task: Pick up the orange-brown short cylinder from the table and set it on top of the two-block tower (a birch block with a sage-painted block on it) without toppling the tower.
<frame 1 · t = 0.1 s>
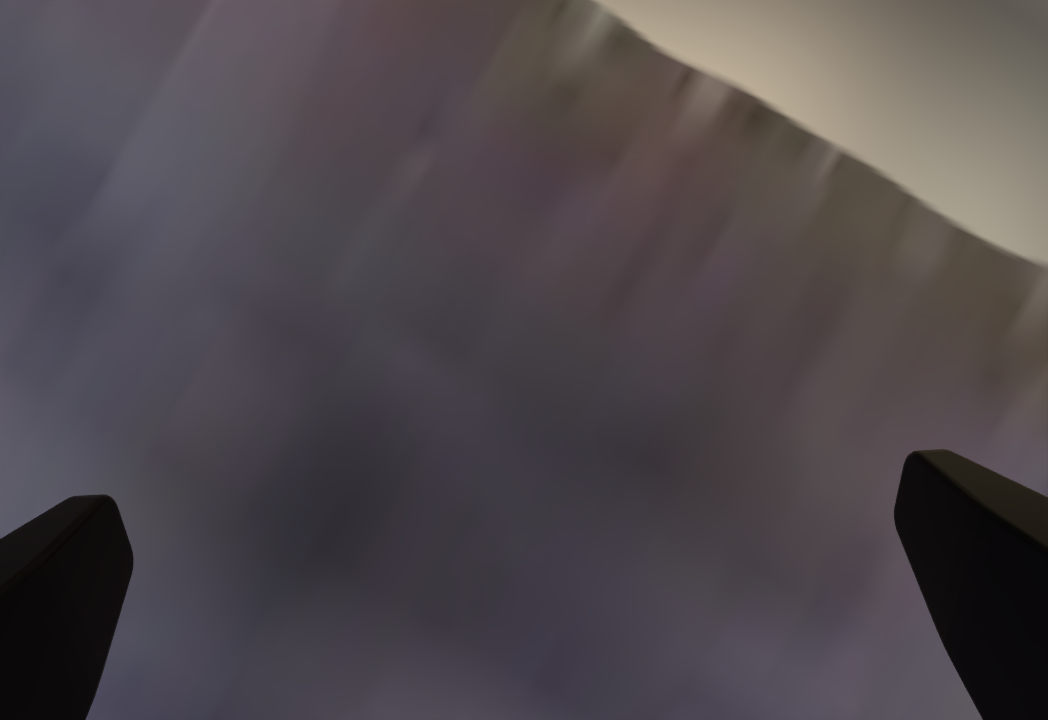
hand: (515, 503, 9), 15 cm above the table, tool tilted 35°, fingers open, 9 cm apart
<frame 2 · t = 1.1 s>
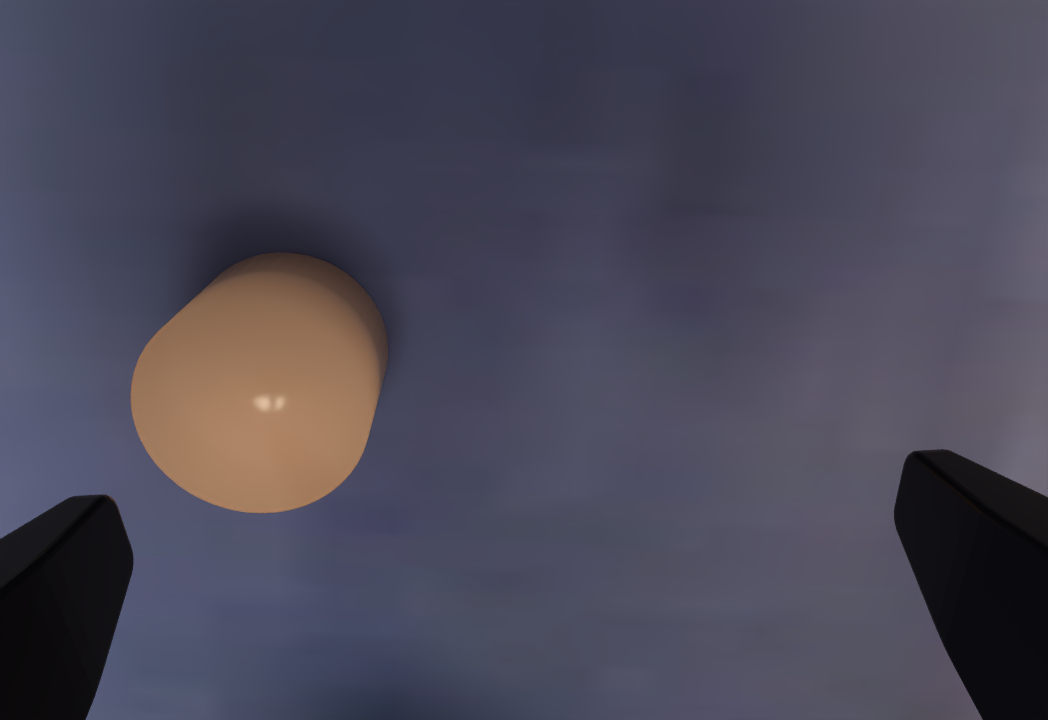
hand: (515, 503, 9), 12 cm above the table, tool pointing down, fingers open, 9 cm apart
orange-brown short cylinder: (291, 346, 21), on the table
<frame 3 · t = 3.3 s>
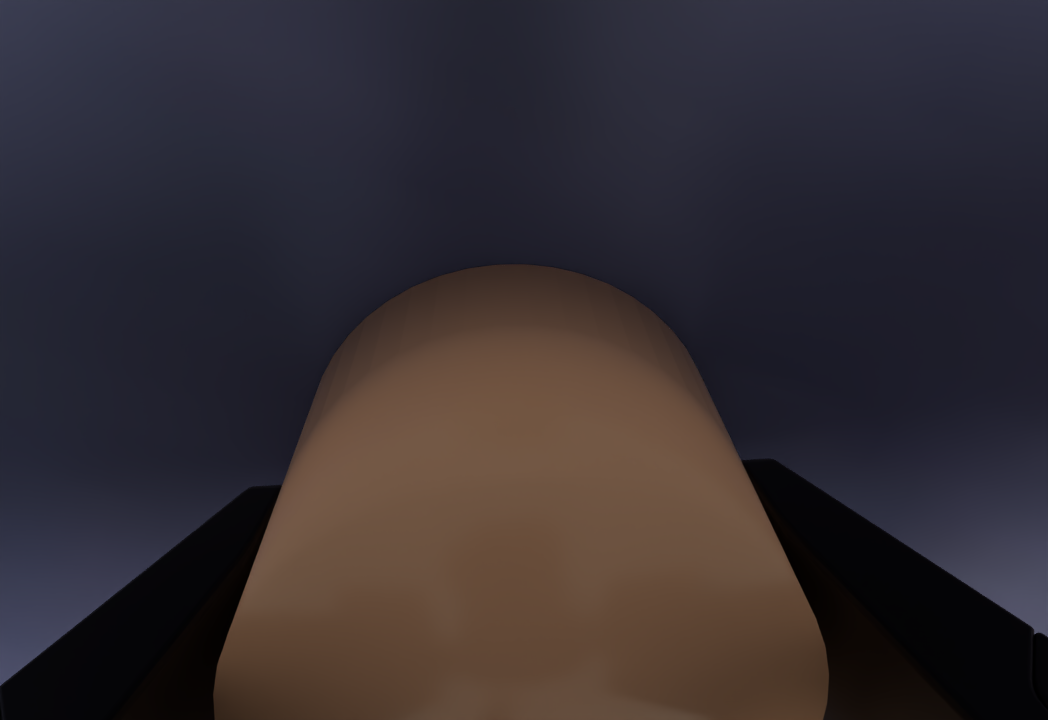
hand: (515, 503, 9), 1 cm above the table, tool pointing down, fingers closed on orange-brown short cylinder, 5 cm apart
orange-brown short cylinder: (512, 451, 10), on the table, touching gripper
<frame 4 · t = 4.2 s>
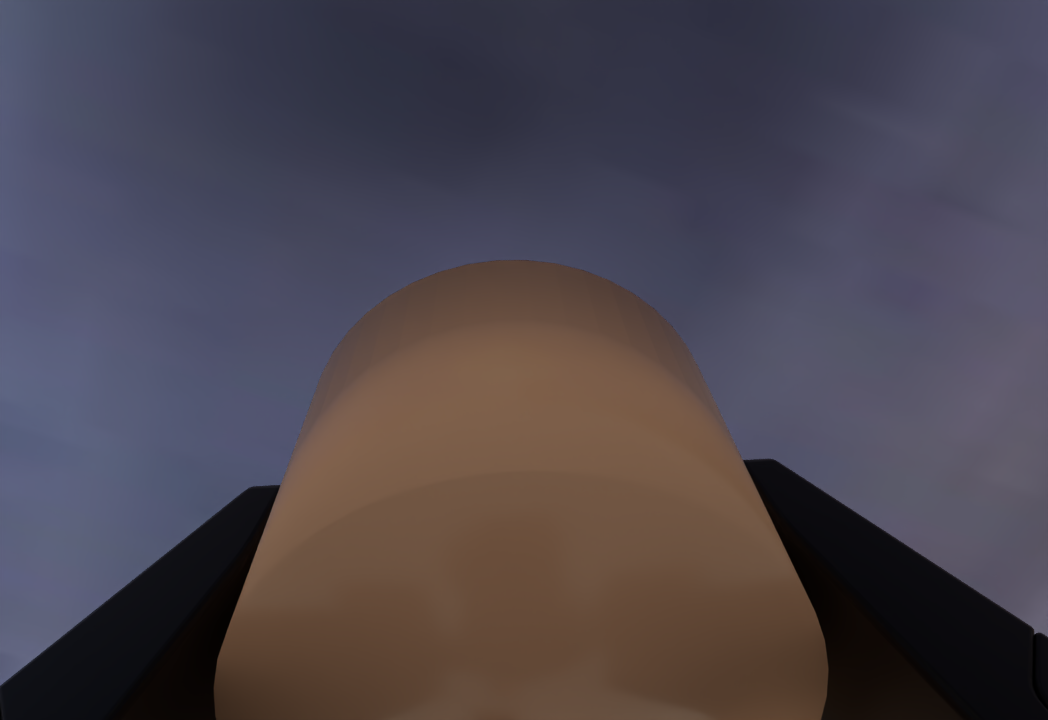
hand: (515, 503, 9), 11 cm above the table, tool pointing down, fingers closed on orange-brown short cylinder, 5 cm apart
orange-brown short cylinder: (512, 447, 10), point 10 cm above the table, touching gripper
when the fingers open (9 cm above the table, at t = 6.3 s): orange-brown short cylinder drops 1 cm, resting on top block.
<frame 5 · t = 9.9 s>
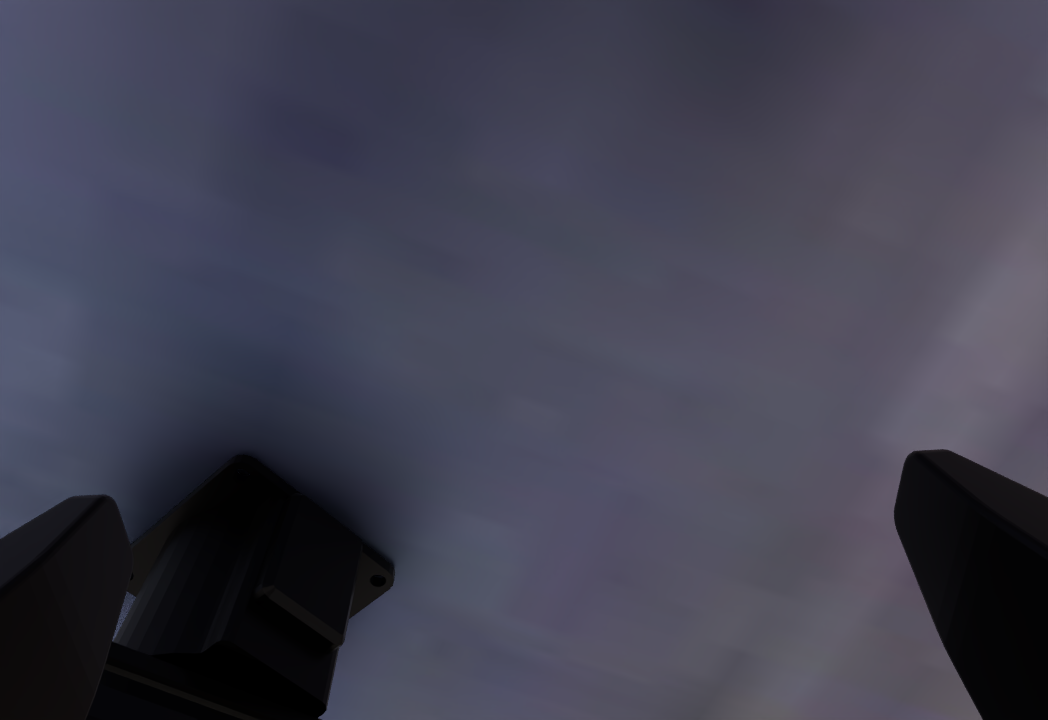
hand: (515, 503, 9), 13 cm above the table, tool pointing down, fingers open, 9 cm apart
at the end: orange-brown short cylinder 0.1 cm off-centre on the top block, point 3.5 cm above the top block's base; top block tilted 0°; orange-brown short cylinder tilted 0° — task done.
